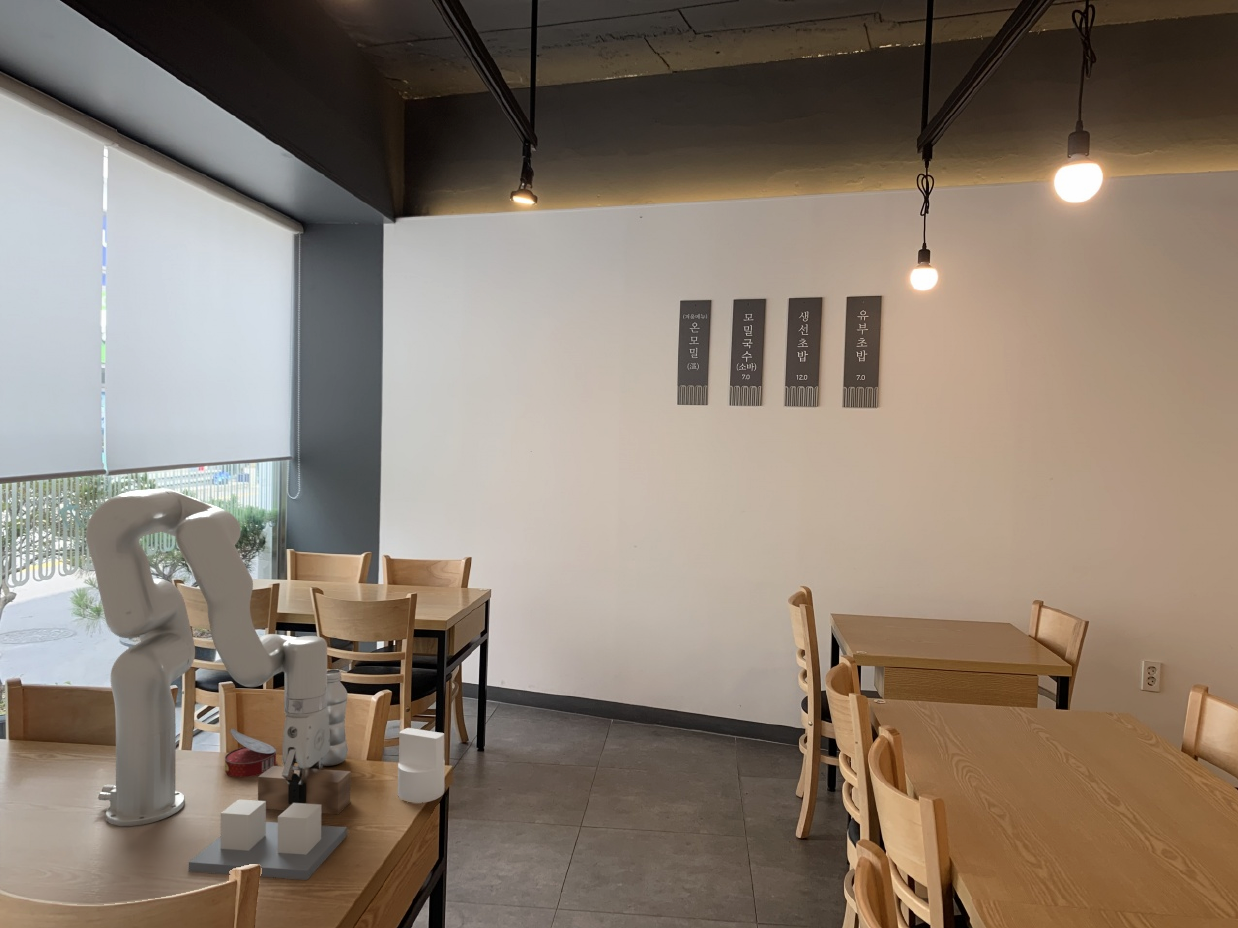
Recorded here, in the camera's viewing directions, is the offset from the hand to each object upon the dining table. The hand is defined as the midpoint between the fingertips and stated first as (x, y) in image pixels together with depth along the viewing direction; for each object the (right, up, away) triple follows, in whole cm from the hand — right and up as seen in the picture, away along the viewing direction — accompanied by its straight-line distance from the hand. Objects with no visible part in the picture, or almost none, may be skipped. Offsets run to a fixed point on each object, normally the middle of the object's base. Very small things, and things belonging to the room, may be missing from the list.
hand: (304, 795), depth 147 cm
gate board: (+1, -2, -17) cm, 17 cm away
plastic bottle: (-2, -2, +19) cm, 20 cm away
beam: (0, -2, 0) cm, 2 cm away
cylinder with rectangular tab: (+21, -2, +6) cm, 22 cm away
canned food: (-18, -2, +17) cm, 25 cm away
